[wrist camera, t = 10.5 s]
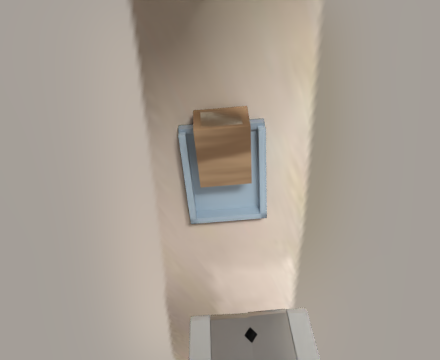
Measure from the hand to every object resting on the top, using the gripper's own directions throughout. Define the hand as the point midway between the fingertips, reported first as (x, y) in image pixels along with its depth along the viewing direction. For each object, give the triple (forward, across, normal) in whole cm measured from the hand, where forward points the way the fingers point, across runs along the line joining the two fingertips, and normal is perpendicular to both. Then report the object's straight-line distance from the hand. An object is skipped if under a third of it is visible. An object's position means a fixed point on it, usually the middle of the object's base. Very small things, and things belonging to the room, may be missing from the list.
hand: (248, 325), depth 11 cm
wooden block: (+34, 0, +10) cm, 35 cm away
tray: (+37, 0, +19) cm, 42 cm away
